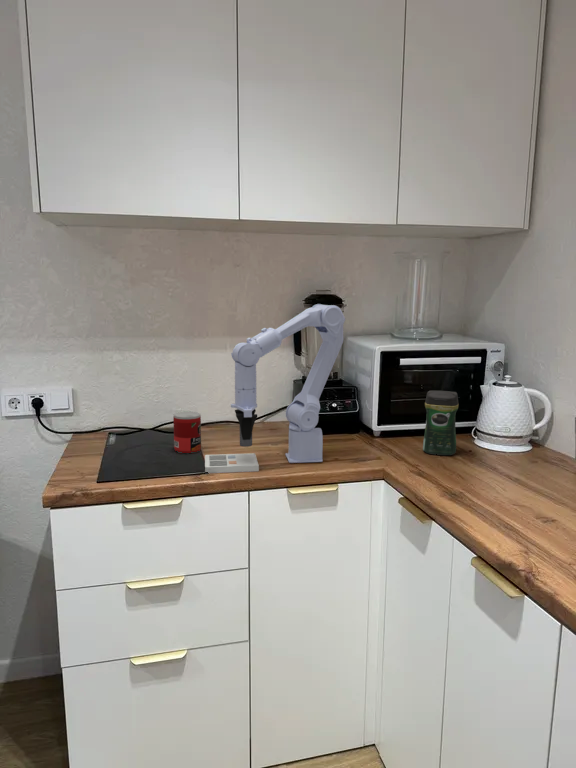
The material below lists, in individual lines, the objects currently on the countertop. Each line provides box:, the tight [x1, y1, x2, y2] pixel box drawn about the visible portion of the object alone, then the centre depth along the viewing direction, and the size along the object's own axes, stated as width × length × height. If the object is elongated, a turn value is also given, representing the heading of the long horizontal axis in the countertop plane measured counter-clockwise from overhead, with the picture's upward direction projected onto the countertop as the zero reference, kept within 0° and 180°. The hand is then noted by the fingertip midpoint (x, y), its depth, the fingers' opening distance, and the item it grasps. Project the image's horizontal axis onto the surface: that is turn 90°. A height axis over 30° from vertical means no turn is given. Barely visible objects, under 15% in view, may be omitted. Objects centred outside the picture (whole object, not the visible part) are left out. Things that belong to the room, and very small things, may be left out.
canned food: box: [173, 411, 202, 454], centre depth 168 cm, size 8×8×11 cm
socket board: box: [204, 452, 260, 474], centre depth 155 cm, size 14×11×2 cm
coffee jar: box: [422, 390, 459, 456], centre depth 169 cm, size 10×8×19 cm
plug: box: [239, 427, 253, 448], centre depth 154 cm, size 3×3×7 cm
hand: (246, 437), depth 155 cm, fingers closed on plug, 3 cm apart
